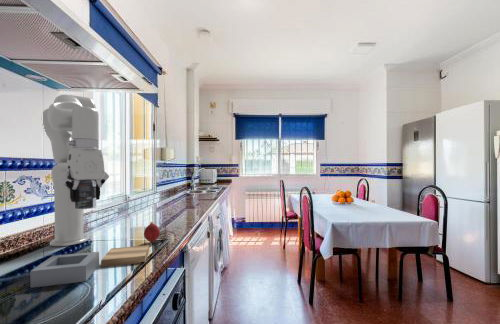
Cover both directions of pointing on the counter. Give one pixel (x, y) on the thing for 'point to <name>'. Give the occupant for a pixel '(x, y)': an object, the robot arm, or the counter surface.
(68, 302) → the counter surface
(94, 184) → the pill bottle
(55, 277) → the socket collar
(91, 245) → the counter surface
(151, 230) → the onion
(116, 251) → the pad
